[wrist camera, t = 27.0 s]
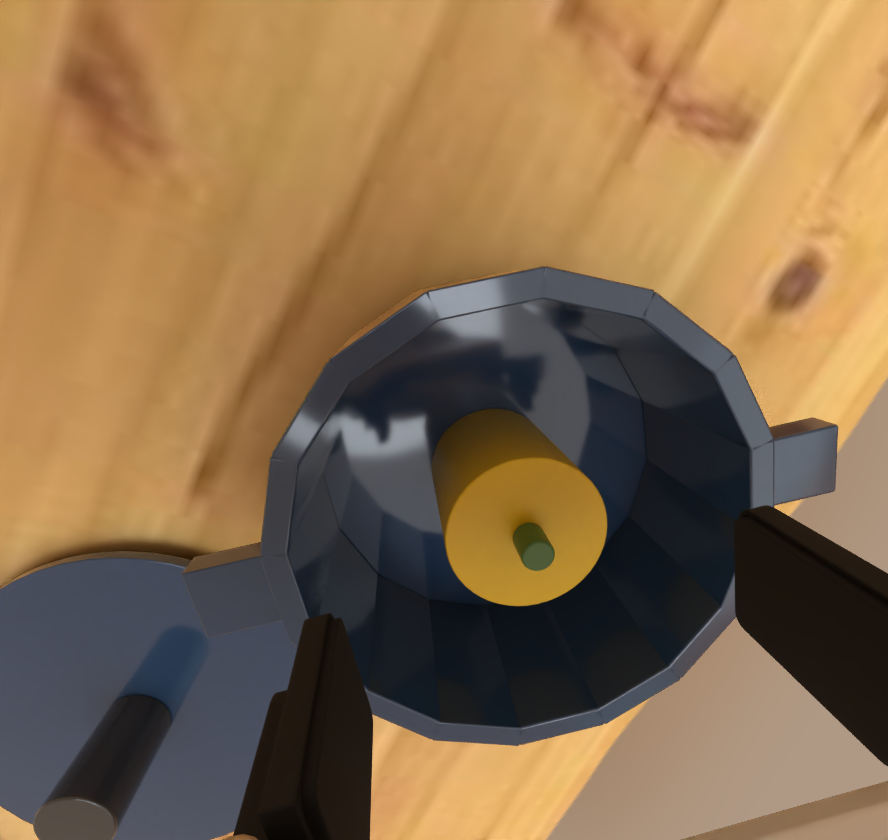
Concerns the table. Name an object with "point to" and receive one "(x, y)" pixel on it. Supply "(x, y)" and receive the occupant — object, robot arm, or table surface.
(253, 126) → the table surface
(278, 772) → the robot arm
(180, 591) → the lid
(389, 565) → the pan
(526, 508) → the yellow cylinder with peg
